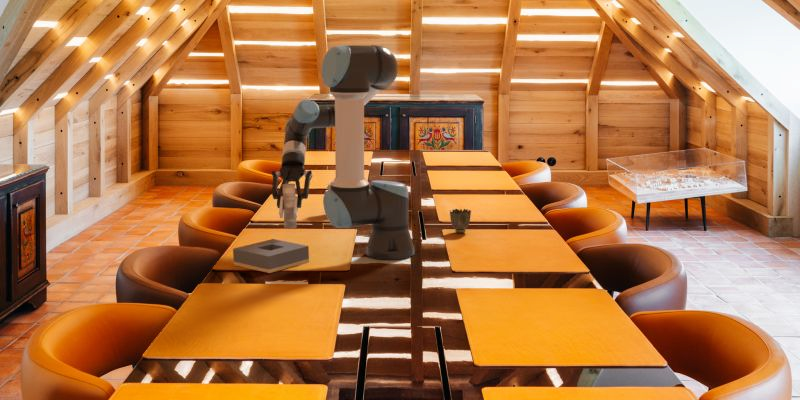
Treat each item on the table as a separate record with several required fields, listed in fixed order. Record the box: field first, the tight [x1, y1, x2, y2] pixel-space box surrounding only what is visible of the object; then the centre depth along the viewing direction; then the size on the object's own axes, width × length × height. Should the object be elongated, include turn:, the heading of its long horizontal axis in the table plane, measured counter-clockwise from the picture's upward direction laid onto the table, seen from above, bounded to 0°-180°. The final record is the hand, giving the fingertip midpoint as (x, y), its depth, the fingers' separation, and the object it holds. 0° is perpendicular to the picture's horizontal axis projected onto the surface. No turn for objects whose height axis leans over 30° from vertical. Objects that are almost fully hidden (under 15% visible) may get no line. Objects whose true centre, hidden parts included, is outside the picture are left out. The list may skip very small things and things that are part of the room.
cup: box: [449, 208, 472, 235], centre depth 287 cm, size 8×7×8 cm
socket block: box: [232, 238, 310, 274], centre depth 250 cm, size 16×16×5 cm
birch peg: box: [282, 183, 298, 230], centre depth 265 cm, size 4×4×14 cm
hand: (288, 215), depth 262 cm, fingers closed on birch peg, 4 cm apart
